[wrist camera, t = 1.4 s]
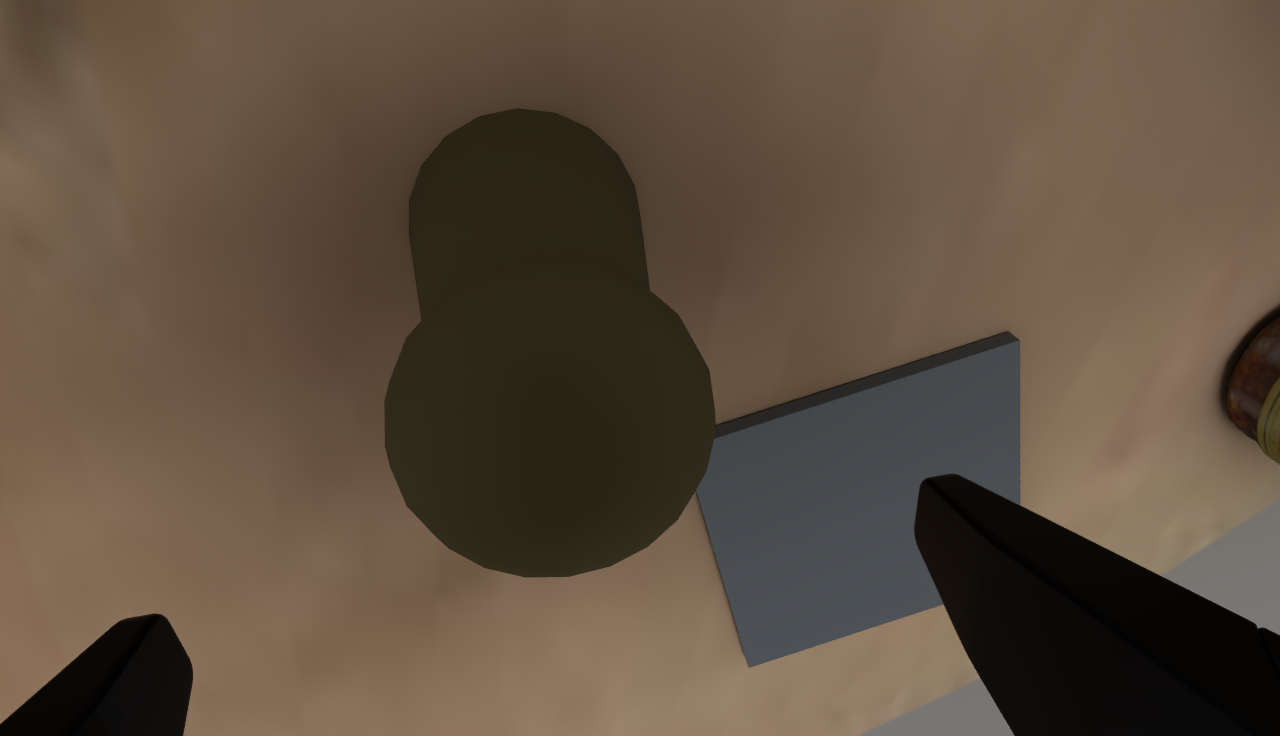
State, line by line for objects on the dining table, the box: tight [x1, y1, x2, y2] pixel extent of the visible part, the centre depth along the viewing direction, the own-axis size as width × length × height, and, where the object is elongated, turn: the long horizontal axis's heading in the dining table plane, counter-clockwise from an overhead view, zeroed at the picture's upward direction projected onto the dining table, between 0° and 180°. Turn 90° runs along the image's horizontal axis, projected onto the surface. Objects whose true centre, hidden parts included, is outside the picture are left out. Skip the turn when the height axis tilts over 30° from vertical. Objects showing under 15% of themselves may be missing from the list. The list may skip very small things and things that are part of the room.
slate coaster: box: [696, 332, 1020, 668], centre depth 27 cm, size 11×11×1 cm
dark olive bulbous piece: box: [385, 109, 716, 577], centre depth 16 cm, size 6×6×11 cm
